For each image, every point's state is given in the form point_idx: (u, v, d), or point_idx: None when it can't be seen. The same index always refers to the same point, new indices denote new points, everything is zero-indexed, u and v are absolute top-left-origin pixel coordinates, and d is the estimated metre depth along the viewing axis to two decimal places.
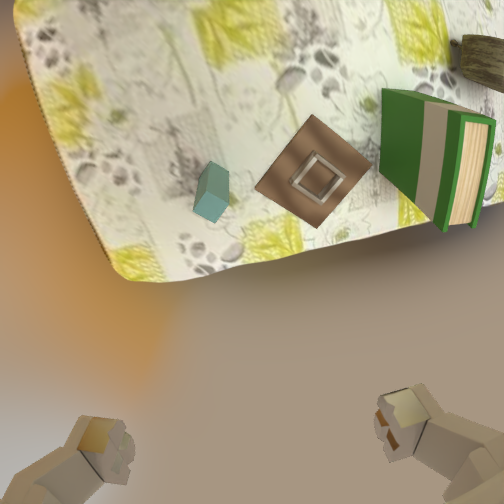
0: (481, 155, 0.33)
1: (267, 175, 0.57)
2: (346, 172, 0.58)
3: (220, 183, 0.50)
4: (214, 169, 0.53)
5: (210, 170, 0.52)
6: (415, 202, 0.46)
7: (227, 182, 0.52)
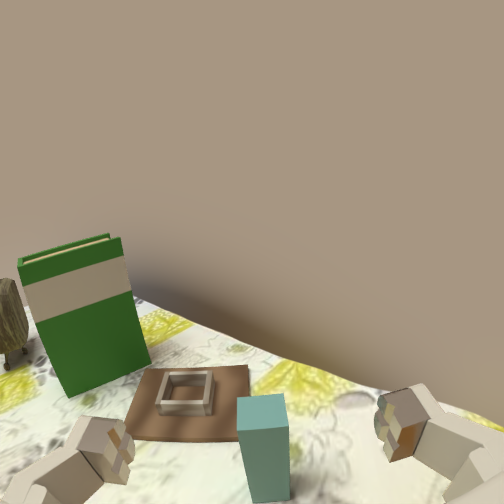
0: (48, 255, 0.43)
1: (221, 436, 0.34)
2: None
3: None
4: None
5: (248, 482, 0.24)
6: (128, 289, 0.48)
7: None
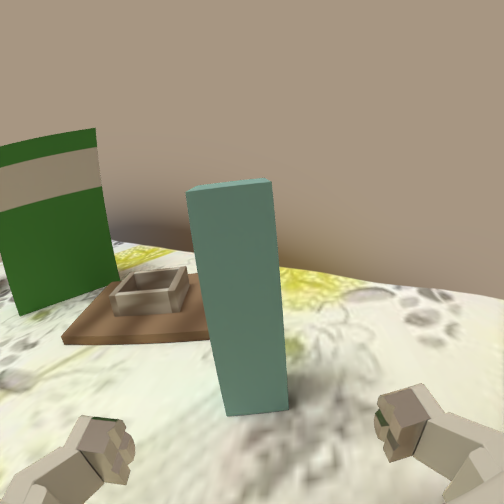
0: None
1: (188, 330, 0.27)
2: None
3: None
4: None
5: None
6: (99, 185, 0.41)
7: None
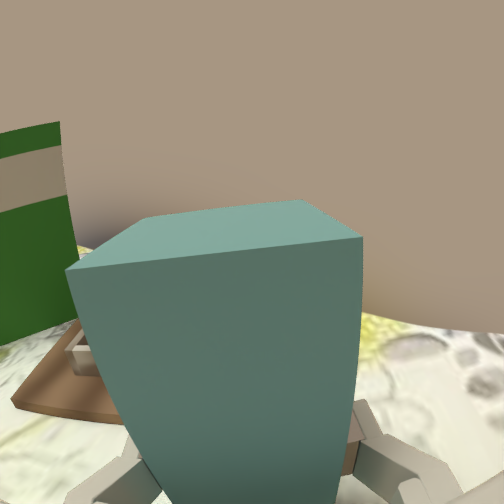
0: None
1: None
2: None
3: None
4: None
5: None
6: (63, 193, 0.31)
7: None
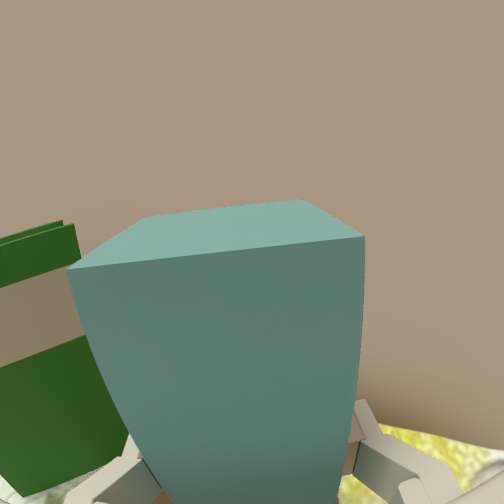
0: None
1: None
2: None
3: None
4: None
5: None
6: None
7: None
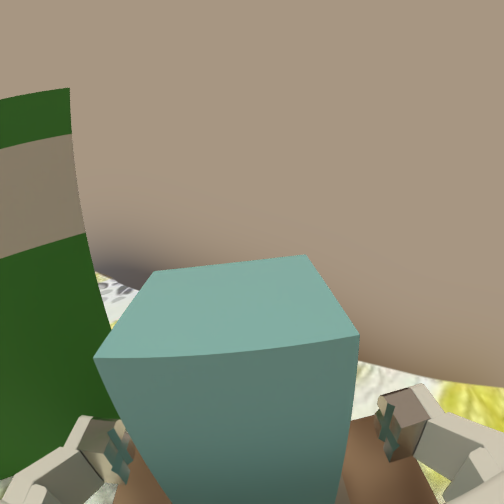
0: None
1: None
2: None
3: None
4: None
5: None
6: (78, 231, 0.16)
7: None
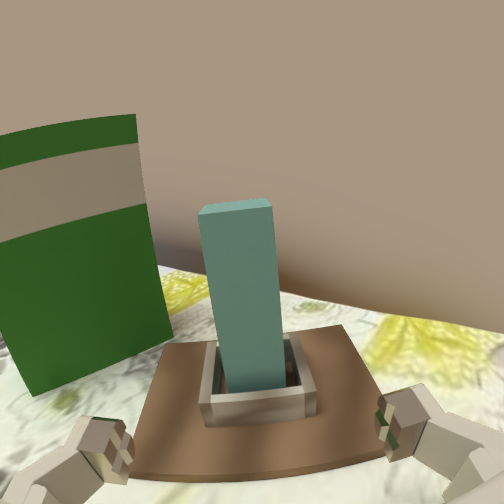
0: None
1: (352, 453, 0.15)
2: None
3: None
4: None
5: (221, 353, 0.19)
6: (142, 201, 0.29)
7: None
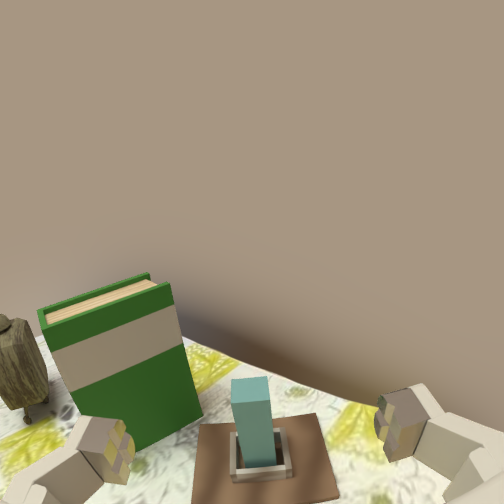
0: (76, 305, 0.36)
1: (309, 499, 0.27)
2: (229, 438, 0.39)
3: None
4: None
5: None
6: (180, 342, 0.41)
7: None
